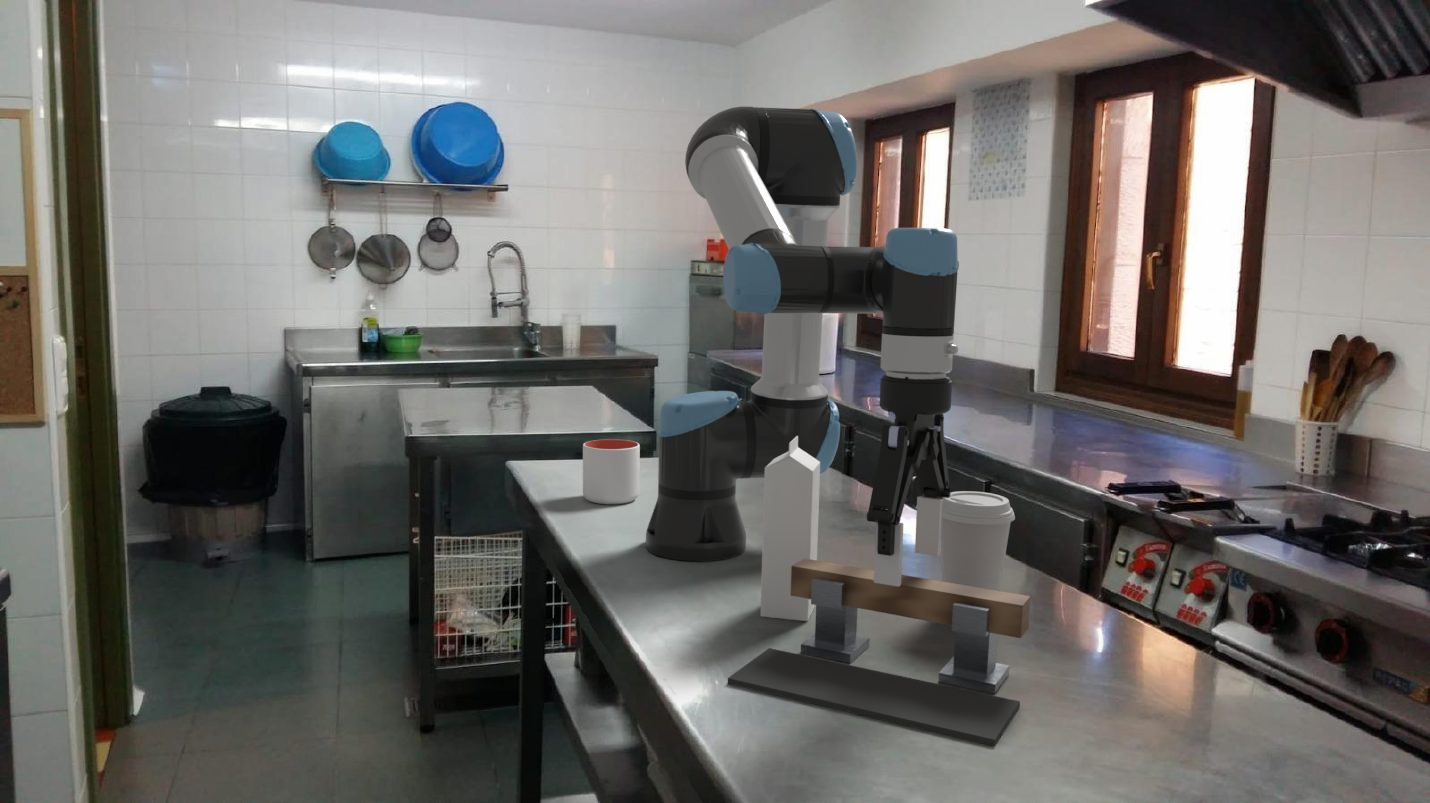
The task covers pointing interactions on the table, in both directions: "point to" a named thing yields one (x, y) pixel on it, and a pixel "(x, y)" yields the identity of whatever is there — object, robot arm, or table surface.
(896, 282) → the robot arm
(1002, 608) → the rail
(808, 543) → the milk
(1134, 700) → the table surface
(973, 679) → the post
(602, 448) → the cup
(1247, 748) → the table surface
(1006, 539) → the coffee cup
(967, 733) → the mat
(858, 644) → the post
